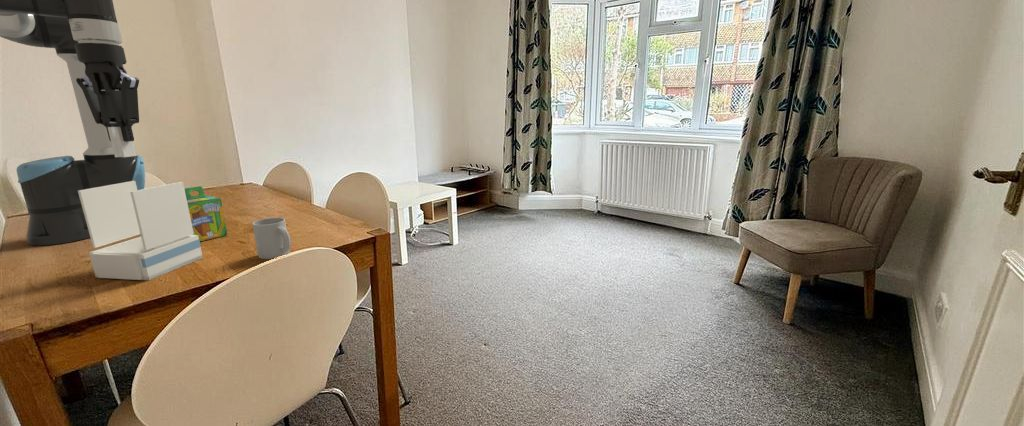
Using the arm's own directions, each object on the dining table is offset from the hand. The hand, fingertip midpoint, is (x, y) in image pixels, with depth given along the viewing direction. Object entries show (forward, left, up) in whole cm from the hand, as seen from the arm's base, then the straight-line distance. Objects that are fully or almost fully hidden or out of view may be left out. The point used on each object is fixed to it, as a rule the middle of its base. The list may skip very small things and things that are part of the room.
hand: (125, 156), depth 95 cm
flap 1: (-6, -3, -20) cm, 21 cm away
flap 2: (+6, +3, -20) cm, 21 cm away
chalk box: (-18, +16, -27) cm, 36 cm away
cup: (+16, +22, -27) cm, 38 cm away
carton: (0, 0, -26) cm, 26 cm away
